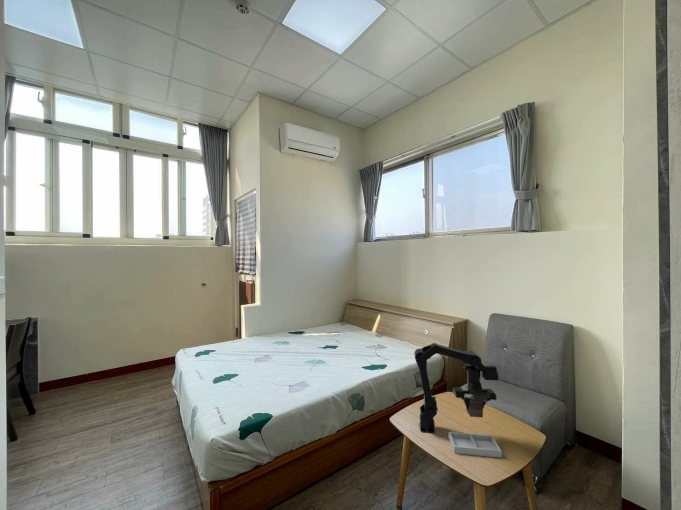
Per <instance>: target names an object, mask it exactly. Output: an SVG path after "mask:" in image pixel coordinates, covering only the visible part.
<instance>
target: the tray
mask: <svg viewBox="0 0 681 510" xmlns="http://www.w3.org/2000/svg"><path fill="white" fill-rule="evenodd" d="M447 433H448V434H447V436H448V438H447V439H448V440H449V444H450V446H451V448H452V451H453V454H458V455H459V454H460V455H469V456H470V455H471V456H482V457H492V458H493V457H494V458H502V456H503V453H502V452H503V451H502V449H501V448H500V446H499V445H498V443H497V441H496V439H495V438H494V437H493V435H492V434H482V433H480V434H478V433H471V432H470V433H469V432H457V431H447Z"/></svg>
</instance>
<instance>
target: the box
mask: <svg viewBox="0 0 681 510" xmlns="http://www.w3.org/2000/svg"><path fill="white" fill-rule="evenodd" d="M467 398H468V411H467V409H466V408H465V410H466V412H467V414H468V416H470V417H471V418H484V408H483V402H482V401H478V402H477V401H475V400H474V398H473V396H472V395H467Z"/></svg>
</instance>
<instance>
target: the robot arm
mask: <svg viewBox="0 0 681 510" xmlns="http://www.w3.org/2000/svg"><path fill="white" fill-rule="evenodd" d="M436 354H439V355H442V356H446V357H448V358H451V359H456V360H459V361H461V362H463V363H465V364H464V365H463V366H462V368H463V369H464V371H467V377H466V382H467V386H466V390H465V389H463V388H462V387H461V386H460V387H459V386H457V387H456V386H453V388H452V394H453V395H454V397H455V398H457V399H461V400H463V402H464V406H465V410H466V409H467V411H468V398H467V396H473V398H474V400H475V401H477V402H478V401H482V402H483V409H484V408H485V406H486V404H487V403H488V402H491V401H497V393H496V392H495V391H494V390H493V389H492V388H483V387H482V385H483V384H482V383H481V378H482V379H483V380H484V381H490V382H491V381H493V382H494V381H495V382H498V381H499V377H500V376H499V373H498V370H497V369H498V368H497V367H496V366H495V365H484V363H482V359H481V357H480V356H479V355H478V354H477V352H475V351H474V350H473V351H472V350H459V349H456V348H453V347H448V346H444V345H442V344H438V343H436V342H433V343H431V344H428V345H426V346H423V347H422V348H421V347H420V348H416V349H415V350H414V354H413V355H414V359H415V361H416V365H417V367H418V369H419V374H420V379H421V385H422V392H423V404H422V405H421V406H419V411H420V413H419V423H418V425H419V429H420V432H421V433H432V434H434V433H435V419H434V418H435V416H436V415H438V411H439V407H438V405H437V403H438V401H437V398H436V396H433V395H432V389H431V385H430V379H429V374H428V370H427V369H428V368H427V367H428V360H429V359H431V358H432V357H433V356H434V355H436ZM467 411H466V412H467Z"/></svg>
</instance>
